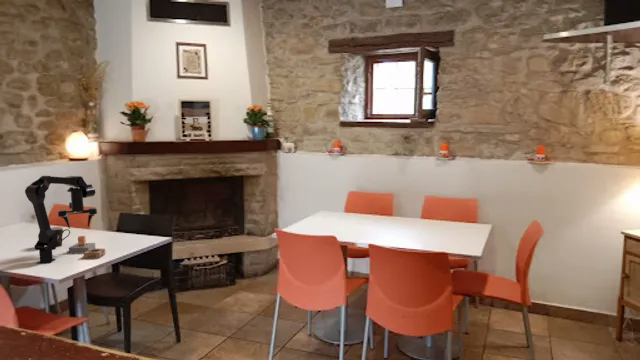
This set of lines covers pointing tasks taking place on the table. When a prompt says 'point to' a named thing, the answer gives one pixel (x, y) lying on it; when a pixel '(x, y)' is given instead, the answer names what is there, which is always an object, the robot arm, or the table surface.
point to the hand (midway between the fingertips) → (78, 227)
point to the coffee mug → (60, 235)
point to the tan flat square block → (94, 253)
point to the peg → (81, 241)
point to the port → (81, 248)
